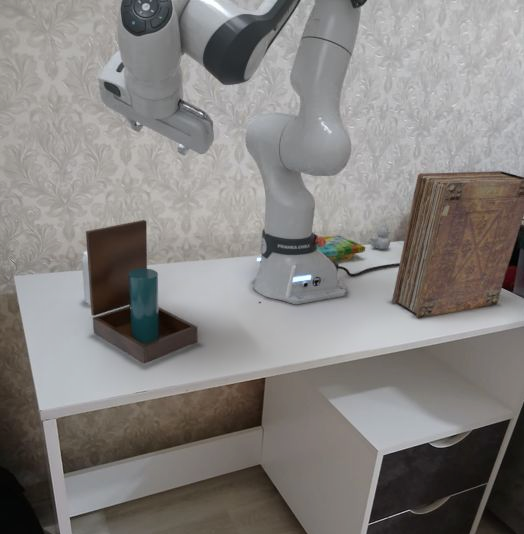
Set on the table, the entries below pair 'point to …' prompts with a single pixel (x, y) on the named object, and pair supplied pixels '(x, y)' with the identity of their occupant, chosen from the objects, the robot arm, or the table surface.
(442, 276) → the book
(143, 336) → the canister
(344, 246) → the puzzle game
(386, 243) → the grey figurine
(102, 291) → the lid
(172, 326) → the chest
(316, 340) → the table surface
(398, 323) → the table surface
